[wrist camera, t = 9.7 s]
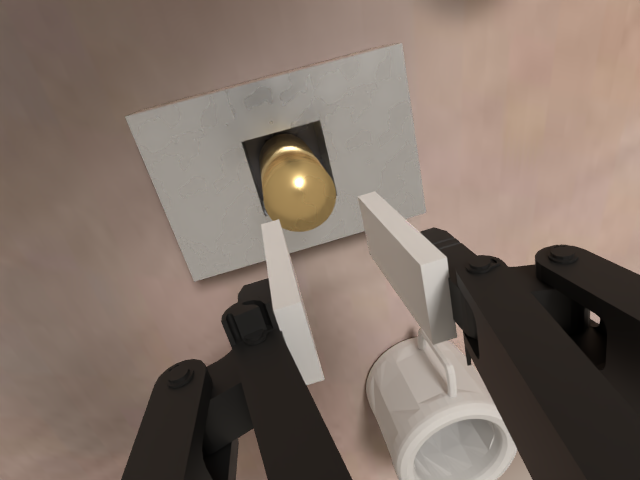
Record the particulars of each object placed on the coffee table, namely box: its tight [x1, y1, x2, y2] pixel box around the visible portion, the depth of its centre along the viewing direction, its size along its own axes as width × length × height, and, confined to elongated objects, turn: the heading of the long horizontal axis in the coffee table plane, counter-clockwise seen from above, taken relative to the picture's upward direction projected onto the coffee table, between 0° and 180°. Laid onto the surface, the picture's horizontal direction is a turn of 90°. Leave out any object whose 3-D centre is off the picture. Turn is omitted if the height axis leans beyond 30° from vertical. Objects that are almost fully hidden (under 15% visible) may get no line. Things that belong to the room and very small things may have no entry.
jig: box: [125, 43, 426, 282], centre depth 31 cm, size 12×18×4 cm, turn 103°
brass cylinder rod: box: [259, 134, 336, 232], centre depth 28 cm, size 4×4×10 cm
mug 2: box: [366, 328, 517, 480], centre depth 38 cm, size 14×11×10 cm
